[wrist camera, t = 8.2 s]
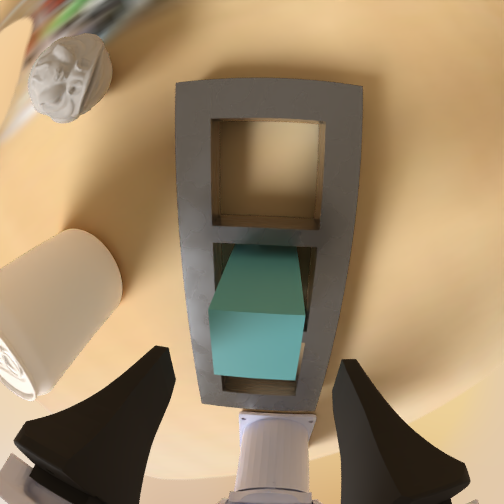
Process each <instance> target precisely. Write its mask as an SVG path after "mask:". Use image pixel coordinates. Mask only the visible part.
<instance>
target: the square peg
mask: <svg viewBox="0 0 504 504" xmlns="http://www.w3.org/2000/svg"><path fill="white" fill-rule="evenodd" d="M208 314H209V326H210V337H211V348H212V358H213V368H214V374H215V375H224V376H234V377H245V378H258V379H275V380H295V378H296V373H297V367H298V361H299V355H300V349H301V342H302V336H303V329H304V322H305V307H304V299H303V291H302V283H301V275H300V267H299V260H298V253H297V246H279V245H257V244H235V245H234V248H233V250H232V252H231V255H230V257H229V260H228V262H227V264H226V267H225V269H224V272H223V274H222V277H221V279H220V281H219V284H218V286H217V289H216V291H215V294H214V296H213V299H212V301H211V303H210V306H209V308H208Z"/></svg>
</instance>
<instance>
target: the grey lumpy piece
mask: <svg viewBox="0 0 504 504" xmlns="http://www.w3.org/2000/svg"><path fill="white" fill-rule="evenodd" d="M109 55H110V54H109V53H108V52H107V50H106V49H105V46H104V43H103V41H102V39H100V38H99V37H98V36H96V35H94V34H87V33H84V34H81V35H77V36H72V37H64V38H60V39H58V40H57V41H55V42H54V43H53V44H51V46H50V47H48V48H47V49H46V50H45V51H44V52H43V53H42V54H41V55H40V56H39V57H38V59H37V60H36V62H35V63H34V65H33V66H32V69H31V72H30V76H29V79H28V91H29V95H30V98H31V101H32V104H33V106H34V108H35V110H36V111H37V112H39V113H41V114H43V115H47V116H49V117H51V119H52V120H53V121H54V122H57V123H69V122H71V121H74V120H75V119H77V118H78V117H79V116H80V115H82V114H84V113H86V112H87V111H89V110H91V108H92V107H93V106H94V105H95V104H97V103H98V102H99V101H100V100H101V99H102V98H103V96H104V95H105V94H106V92H107V90H108V88H109V86H110V83H111V80H112V73H113V69H112V63H111V60H110V58H109Z"/></svg>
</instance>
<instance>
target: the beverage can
mask: <svg viewBox="0 0 504 504" xmlns="http://www.w3.org/2000/svg"><path fill="white" fill-rule="evenodd" d="M121 297H122V279H121V275H120V271H119V269H118V266H117V264H116V262H115V260H114V258H113V256H112V255H111V253H110V252H109V250H108V249H107V248H106V247H105V245H104V244H103V243H102V242H101V241H100V240H98V239H97V238H96V237H95V236H93V235H92V234H90V233H88V232H86V231H83V230H80V229H67V230H64V231H62V232H60V233H58V234H57V235H55V236H53V237H51V238H50V239H48V240H46V241H44V242H43V243H41V244H39V245H38V246H36V247H34V248H33V249H31V250H29V251H28V252H26V253H24V254H23V255H21V256H20V257H18V258H16V259H15V260H13V261H12V262H10V263H9V264H7V265H6V266H4V267H2V268H1V269H0V381H1V382H2V383H3V384H4V385H5V386H6V387H7V388H8V389H9V390H11V391H12V392H13V393H15V394H16V395H17V396H19V397H21V398H23V399H25V400H28V401H34V400H35V399H36V397H37V396H39V395H44V394H47V393H49V392H50V391H51V390H52V389H53V388H54V386H55V385H56V384H57V382H58V381H59V380H60V378H61V377H62V375H63V374H64V373H65V372H66V370H67V369H68V368H69V366H70V365H71V364H72V362H73V361H74V360H75V358H76V357H77V356H78V355H79V353H80V352H81V351H82V350H83V348H84V347H85V346H86V344H87V343H88V342H89V341H90V340H91V338H92V337H93V336H94V335H95V333H96V332H97V331H98V330H99V328H100V327H101V326H102V325H103V324H104V322H105V321H106V320H107V319H108V318H109V316H110V315H111V314H112V313H113V312H114V310H115V309H116V308H117V307H118V305H119V303H120V301H121Z"/></svg>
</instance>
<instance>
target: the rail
mask: <svg viewBox="0 0 504 504" xmlns="http://www.w3.org/2000/svg"><path fill="white" fill-rule="evenodd" d="M362 114H363V86H357V85H351V84H343V83H335V82H327V81H316V80H304V79H287V78H228V79H210V80H198V81H188V82H179V83H176V96H175V152H176V184H177V204H178V220H179V234H180V247H181V258H182V269H183V279H184V288H185V297H186V305H187V313H188V321H189V328H190V335H191V342H192V349H193V355H194V362H195V368H196V374H197V379H198V385H199V391H200V396H201V401H202V403H203V404H210V405H217V406H226V407H235V408H246V409H259V410H277V411H315V409H316V406H317V402H318V399H319V396H320V392H321V389H322V385H323V382H324V378H325V374H326V370H327V367H328V363H329V359H330V355H331V351H332V346H333V342H334V338H335V333H336V329H337V324H338V320H339V315H340V310H341V305H342V300H343V295H344V289H345V284H346V278H347V272H348V266H349V260H350V254H351V247H352V240H353V232H354V224H355V216H356V207H357V198H358V187H359V175H360V161H361V144H362ZM220 121H274V122H296V123H311V124H319V144H318V167H317V185H316V200H315V214H314V218H296V217H276V216H251V215H221V203H220ZM221 243H235V244H257V245H279V246H300V247H312V249H311V259H310V269H309V278H308V286H307V295H306V303H305V322H304V329H303V336H302V342H301V349H300V355H299V361H298V367H297V373H296V378H295V380H275V379H258V378H245V377H234V376H224V375H215V374H214V368H213V358H212V348H211V337H210V326H209V314H208V308H209V306H210V303H211V301H212V299H213V296H214V294H215V291H216V289H217V286H218V284H219V281H220V279H221V277H222V247H221Z"/></svg>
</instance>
